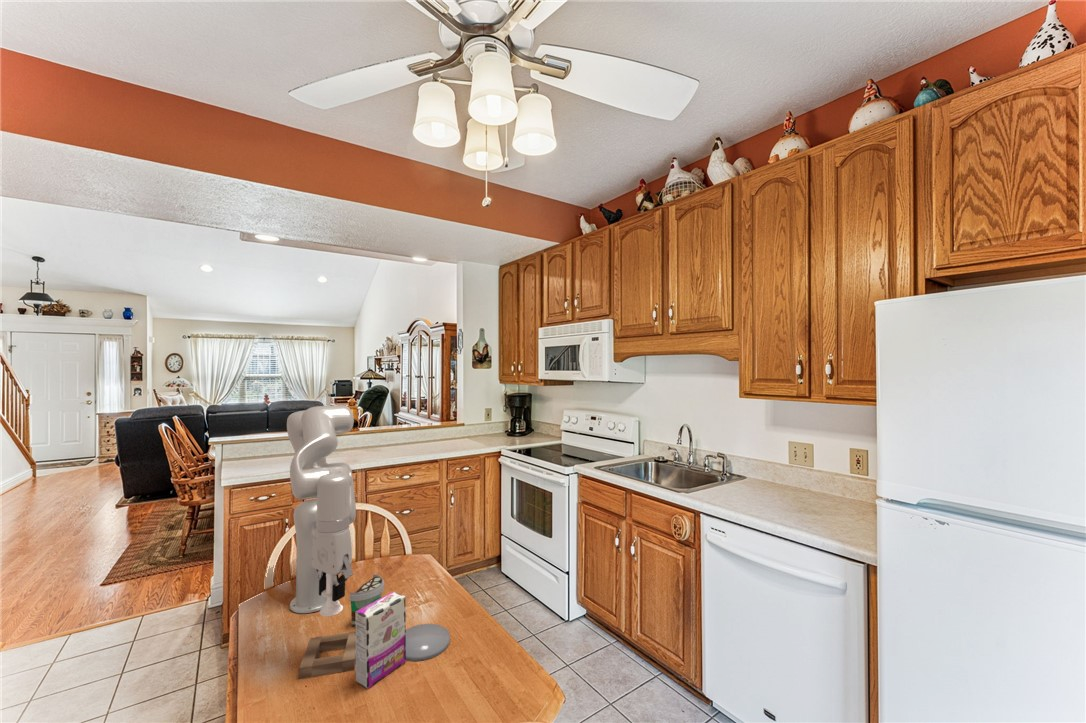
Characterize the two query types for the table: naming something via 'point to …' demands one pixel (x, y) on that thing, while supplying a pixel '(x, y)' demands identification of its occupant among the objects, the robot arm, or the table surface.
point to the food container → (366, 595)
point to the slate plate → (426, 641)
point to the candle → (330, 599)
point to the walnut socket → (331, 664)
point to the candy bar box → (380, 639)
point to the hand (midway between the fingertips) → (331, 595)
